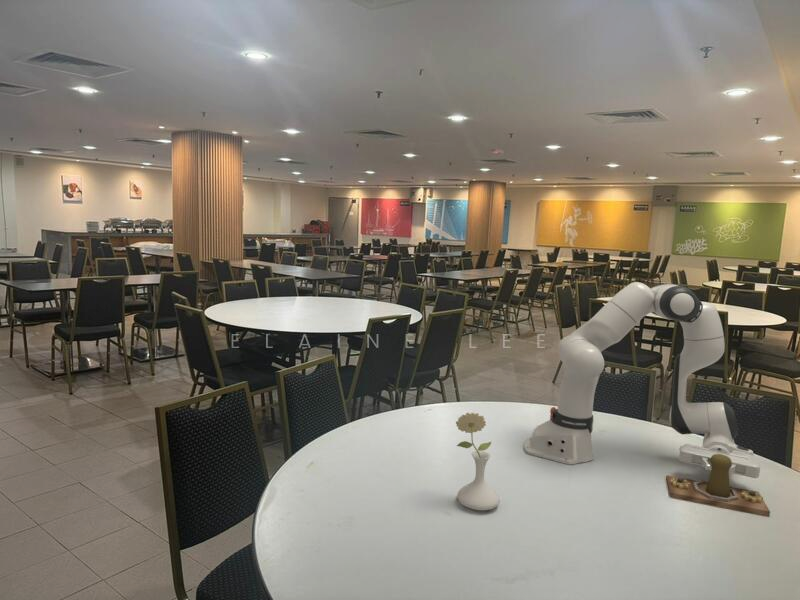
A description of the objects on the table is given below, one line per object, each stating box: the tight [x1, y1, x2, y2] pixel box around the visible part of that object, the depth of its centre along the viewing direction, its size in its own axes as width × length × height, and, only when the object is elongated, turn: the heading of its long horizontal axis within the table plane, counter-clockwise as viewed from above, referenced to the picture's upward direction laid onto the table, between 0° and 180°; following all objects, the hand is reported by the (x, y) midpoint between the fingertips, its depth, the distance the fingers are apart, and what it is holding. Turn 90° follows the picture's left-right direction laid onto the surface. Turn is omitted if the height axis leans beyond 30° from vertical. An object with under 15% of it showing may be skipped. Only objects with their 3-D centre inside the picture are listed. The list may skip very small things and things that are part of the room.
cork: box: [706, 454, 732, 498], centre depth 152 cm, size 6×6×11 cm
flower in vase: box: [455, 412, 501, 511], centre depth 143 cm, size 13×11×25 cm
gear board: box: [665, 474, 771, 518], centre depth 153 cm, size 24×12×4 cm, turn 69°
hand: (718, 470), depth 152 cm, fingers open, 3 cm apart
